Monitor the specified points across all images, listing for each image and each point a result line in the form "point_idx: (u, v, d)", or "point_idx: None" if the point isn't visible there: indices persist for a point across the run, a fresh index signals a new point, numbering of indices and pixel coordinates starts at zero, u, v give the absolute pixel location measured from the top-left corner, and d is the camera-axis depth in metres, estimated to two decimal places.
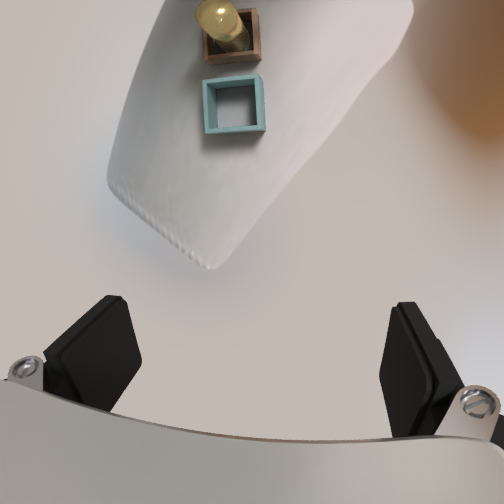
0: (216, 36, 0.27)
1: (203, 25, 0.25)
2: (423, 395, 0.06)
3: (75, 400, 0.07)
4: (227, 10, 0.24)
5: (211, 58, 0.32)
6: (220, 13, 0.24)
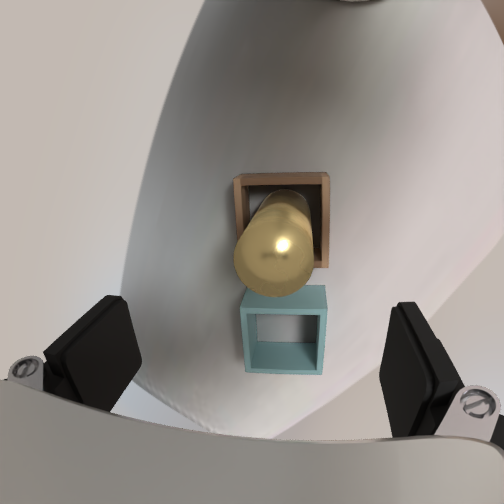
0: None
1: (251, 287, 0.16)
2: (423, 395, 0.06)
3: (75, 400, 0.07)
4: (300, 262, 0.15)
5: None
6: (286, 267, 0.16)
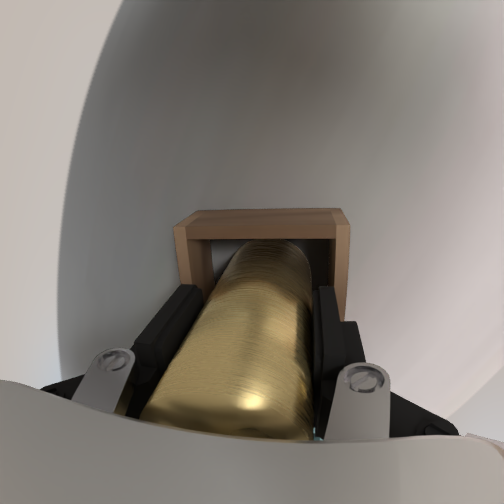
0: None
1: None
2: (314, 367, 0.07)
3: None
4: None
5: None
6: None
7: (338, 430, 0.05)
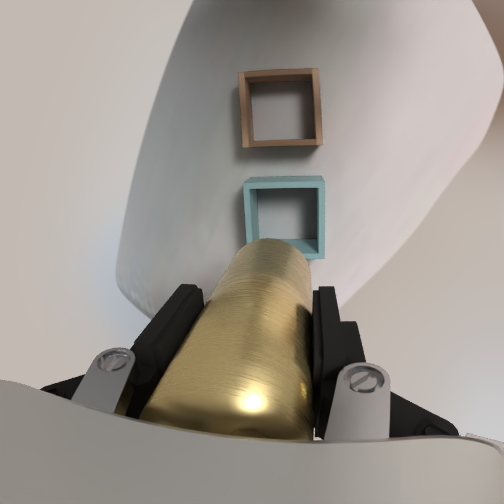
0: None
1: None
2: (314, 367, 0.07)
3: None
4: None
5: (254, 146, 0.25)
6: None
7: (338, 430, 0.05)
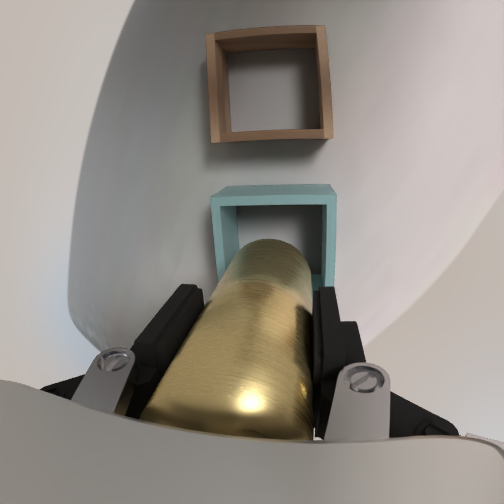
0: None
1: None
2: (314, 367, 0.07)
3: None
4: None
5: (228, 140, 0.16)
6: None
7: (338, 430, 0.05)
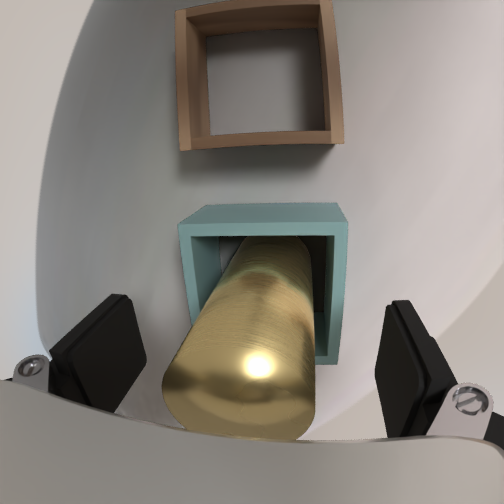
0: None
1: None
2: (416, 392, 0.06)
3: (81, 398, 0.07)
4: (289, 412, 0.07)
5: (202, 146, 0.12)
6: (260, 417, 0.07)
7: None
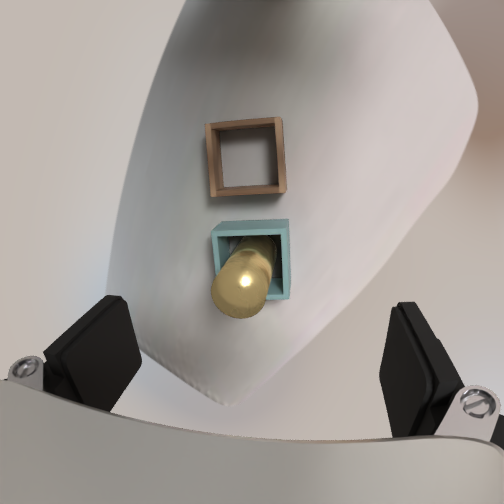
0: None
1: (224, 311, 0.23)
2: (423, 395, 0.06)
3: (75, 400, 0.07)
4: (256, 294, 0.22)
5: (221, 195, 0.28)
6: (247, 297, 0.22)
7: None
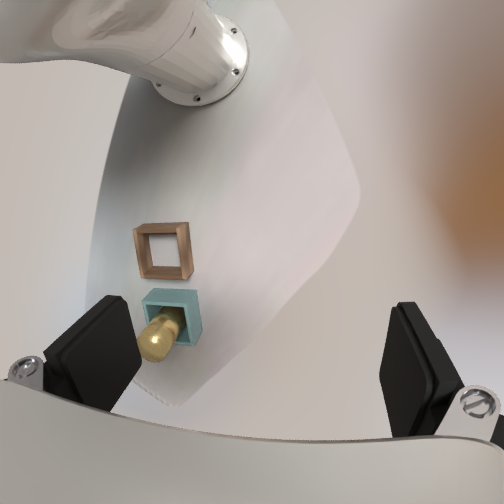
0: None
1: (144, 357, 0.36)
2: (423, 395, 0.06)
3: (75, 400, 0.07)
4: (160, 350, 0.35)
5: (147, 277, 0.40)
6: (155, 351, 0.35)
7: None
